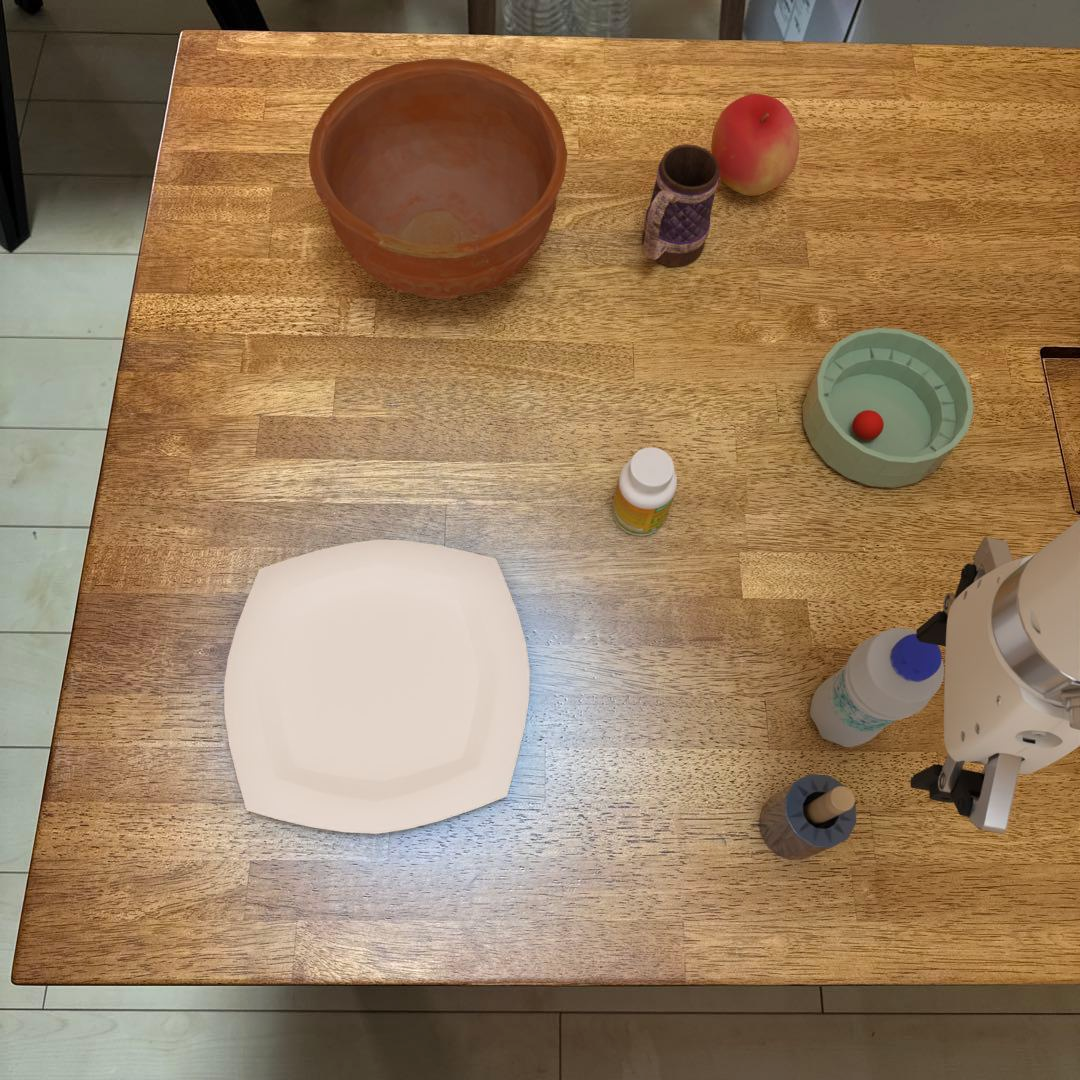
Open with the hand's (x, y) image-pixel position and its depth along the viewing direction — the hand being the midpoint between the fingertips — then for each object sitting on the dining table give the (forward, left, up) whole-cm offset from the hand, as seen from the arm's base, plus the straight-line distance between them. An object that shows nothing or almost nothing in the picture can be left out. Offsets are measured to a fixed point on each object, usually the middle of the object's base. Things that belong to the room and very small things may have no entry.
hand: (936, 711), depth 65 cm
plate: (+39, -6, -27) cm, 48 cm away
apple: (+5, -68, -27) cm, 74 cm away
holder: (+2, +4, -27) cm, 28 cm away
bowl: (+38, -55, -27) cm, 73 cm away
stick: (+2, +4, -27) cm, 27 cm away
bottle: (-2, -6, -27) cm, 28 cm away
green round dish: (-8, -37, -27) cm, 47 cm away
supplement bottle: (+16, -25, -27) cm, 41 cm away
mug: (+14, -57, -27) cm, 65 cm away
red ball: (-6, -36, -25) cm, 44 cm away
